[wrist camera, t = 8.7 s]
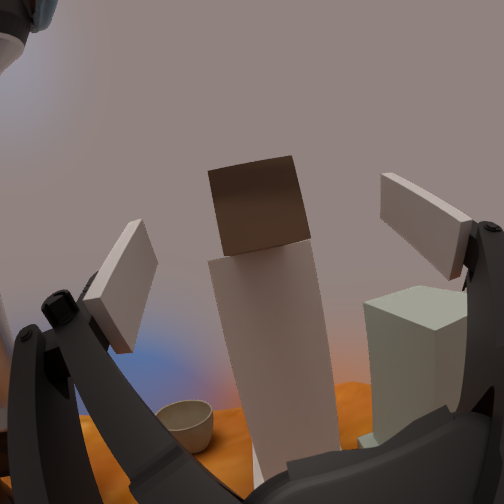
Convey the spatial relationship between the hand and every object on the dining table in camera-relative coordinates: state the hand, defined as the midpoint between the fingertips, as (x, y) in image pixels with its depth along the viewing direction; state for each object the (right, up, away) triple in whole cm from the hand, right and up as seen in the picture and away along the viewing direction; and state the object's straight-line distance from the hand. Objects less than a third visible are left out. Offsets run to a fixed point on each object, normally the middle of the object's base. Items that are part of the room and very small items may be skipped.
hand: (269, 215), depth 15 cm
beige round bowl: (-11, -35, +25) cm, 44 cm away
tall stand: (+6, -31, +14) cm, 35 cm away
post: (+20, -28, +9) cm, 36 cm away
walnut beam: (0, -2, +10) cm, 10 cm away
